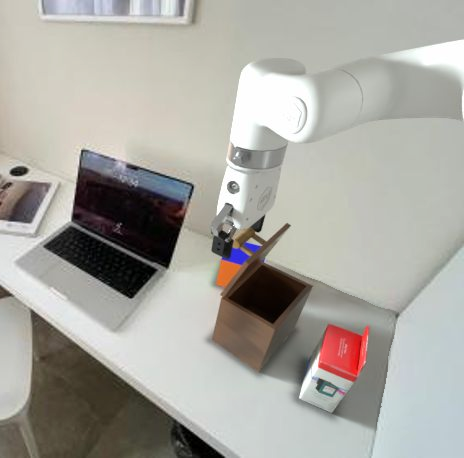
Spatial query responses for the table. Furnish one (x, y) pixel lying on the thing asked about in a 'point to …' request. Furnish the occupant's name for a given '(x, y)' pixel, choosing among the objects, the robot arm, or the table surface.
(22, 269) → the table surface
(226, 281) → the cube
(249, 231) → the wooden box lid
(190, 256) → the table surface
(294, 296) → the chest
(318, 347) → the ink box
